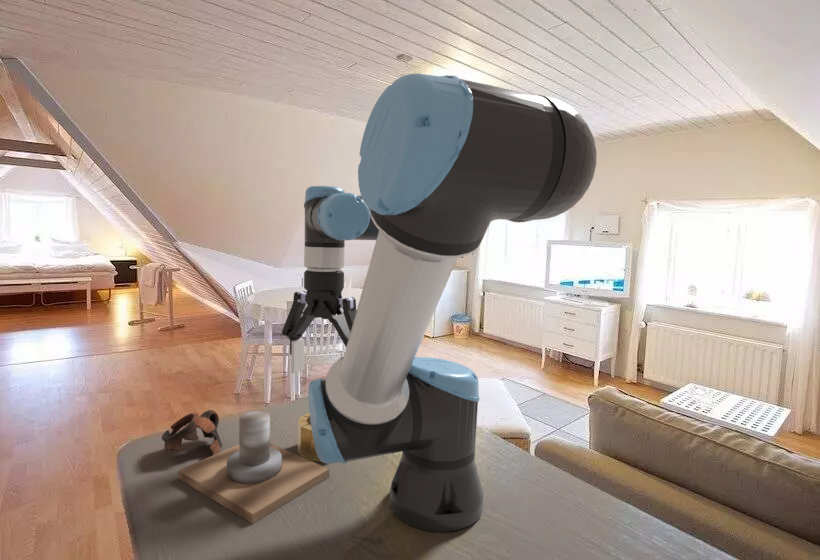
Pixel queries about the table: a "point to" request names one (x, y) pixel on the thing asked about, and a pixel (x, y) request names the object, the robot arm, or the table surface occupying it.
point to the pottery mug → (194, 431)
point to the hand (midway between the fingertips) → (322, 378)
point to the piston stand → (253, 472)
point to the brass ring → (306, 439)
